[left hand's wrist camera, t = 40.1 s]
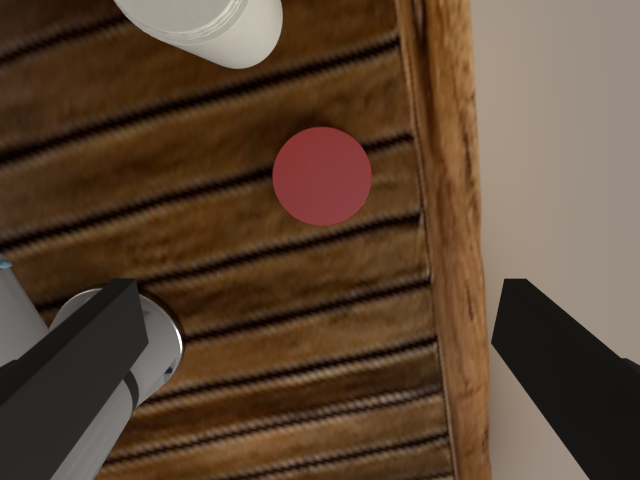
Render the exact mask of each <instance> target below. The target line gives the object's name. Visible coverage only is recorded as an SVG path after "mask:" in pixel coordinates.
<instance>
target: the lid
mask: <svg viewBox="0 0 640 480" xmlns="http://www.w3.org/2000/svg"><path fill="white" fill-rule="evenodd" d="M272 175H273V186H274V190H275V193H276V196H277V198H278V200H279V202H280V203H281V205H282V206H283V207H284V209H285V210H286V211H287V212H288V213H289V214H291V215H292V216H293V217H295V218H296V219H298V220H300V221H302V222H304V223H307V224H311V225H317V226H326V225H332V224H337V223H339V222H342V221H344V220H346V219H348V218H349V217H351V216H352V215H353V214H354V213H355V212H357V211H358V209H359V208H360V207H361V206H362V204H363V203H364V201H365V200H366V198H367V196H368V193H369V190H370V186H371V167H370V163H369V160H368V157H367V155H366V153H365V151H364V150H363V148H362V147H361V145H360V144H359V143H358V142H357V141H356V140H355V139H354V138H353V137H352V136H350V135H349V134H347V133H346V132H344V131H342V130H340V129H337V128H333V127H328V126H317V127H311V128H307V129H305V130H302V131H300V132H298V133H297V134H295V135H294V136H292V137H291V138H290V139H289V140H288V141H287V142H286V143H285V144H284V145H283V147H282V148H281V149H280V151H279V153H278V155H277V157H276V160H275V163H274V167H273V174H272Z"/></svg>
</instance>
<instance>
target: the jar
mask: <svg viewBox="0 0 640 480" xmlns="http://www.w3.org/2000/svg"><path fill="white" fill-rule="evenodd" d="M114 1H115V2H116V4H117V5H118V7H119V8H120V9H121V11H122V12H123V13H124V14H125V15H126V16H127V17H128V18H129V19H130V20H131V21H132V22H133V23H134V24H135V25H136V26H137V27H139V28H140V29H141V30H143V31H144V32H146V33H147V34H149V35H151V36H152V37H154V38H157V39H159V40H161V41H164V42H166V43H168V44H171V45H173V46H176V47H178V48H180V49H183V50H185V51H188V52H190V53H192V54H195V55H197V56H200V57H202V58H204V59H207V60H209V61H212V62H214V63H216V64H219V65H221V66H224V67H228V68H234V69H242V68H248V67H251V66H254V65H256V64H258V63H260V62H261V61H263V60H264V59H265V58H266V57H267V56H268V55H269V54H270V53H271V52H272V50H273V49H274V47H275V45H276V43H277V41H278V39H279V36H280V33H281V28H282V20H283V15H282V5H281V0H114Z"/></svg>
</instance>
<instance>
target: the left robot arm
mask: <svg viewBox="0 0 640 480" xmlns="http://www.w3.org/2000/svg"><path fill="white" fill-rule="evenodd" d="M10 267H12V265H11V263H10V261H7V260H4V258H3V257H2V256H1V254H0V480H94V478H95V476H96V475H97V473H98V471H99V469H100V468H101V466H102V464H103V463H104V461H105V459H106V458H107V456H108V454H109V452H110V451H111V449H112V447H113V446H114V444H115V442H116V441H117V439H118V437H119V435H120V434H121V432H122V430H123V429H124V427H125V425H126V424H127V422H128V420H129V418H130V417H131V415H132V413H133V412H134V410H135V409H136V407H137V406H138V405H139V404H141V403H142V402H143V401H144V400H145V399H147V398H148V397H149V396H150V395H151V394H153V393H154V392H155V391H156V390H157V389H159V388H160V387H161V386H162V385H163V384H165V383H166V382H167V381H168V380H169V379H170V377H171V376H172V375H173V374H174V373H175V371H176V369H177V368H178V366H179V364H180V362H181V360H182V358H183V356H184V352H185V335H184V331H183V328H182V325H181V323H180V321H179V320H178V318H177V316H176V315H175V314H174V312H173V311H172V310H171V309H170V308H169V307H168V306H167V305H166V304H165V303H164V302H163V301H162V300H160V299H159V298H158V297H156V296H155V295H153V294H151V293H149V292H147V291H145V290H143V289H140V288H138V287H137V283H136V279H113V280H112V281H111V282H110V283H104V284H98V285H94V286H91V287H88V288H86V289H84V290H82V291H81V292H79V293H78V294H76V295H75V296H74V297H73V298H71V299H70V300H69V301H68V302H66V303H65V304H64V306H63V307H62V308H61V309H60V311H59V312H58V313H57V315H56V317H55V319H54V321H53V322H52V324H51V326H50V328H49V329H48V327H47V326H46V324H45V323H44V321H43V320H42V318H41V316H40V315H39V313H38V312H37V310H36V308H35V307H34V305H33V304H32V302H31V301H30V299H29V297H28V296H27V294H26V293H25V291H24V289H23V288H22V286H21V285H20V283H19V282H18V280H17V278H16V277H15V275H14V274H13V272H12V270H11V269H10ZM491 344H492V345H493V346H494V348H495V349H496V351H497V352H498V353H499V355H500V356H501V358H502V359H503V360H504V362H505V363H506V364H507V366H508V367H509V369H510V370H511V371H512V373H513V374H514V376H515V377H516V378H517V380H518V381H519V382H520V384H521V385H522V387H523V388H524V389H525V391H526V392H527V394H528V395H529V396H530V398H531V399H532V400H533V402H534V403H535V405H536V406H537V407H538V409H539V410H540V411H541V413H542V414H543V416H544V417H545V418H546V420H547V421H548V423H549V424H550V425H551V427H552V428H553V429H554V431H555V432H556V434H557V435H558V436H559V438H560V439H561V441H562V442H563V443H564V445H565V446H566V447H567V449H568V450H569V451H570V453H571V454H572V456H573V457H574V459H575V460H576V461H577V463H578V464H579V465H580V467H581V468H582V470H583V471H584V472H585V474H586V475H587V477H588V478H589V479H590V480H640V365H638V364H636V363H634V362H633V361H631V360H629V359H627V358H620V357H619V356H618V355H616V354H615V353H614V352H613V351H612V350H611V349H609V348H608V347H607V346H606V345H605V344H603V343H602V342H601V341H600V340H599V339H597V338H596V337H595V336H594V335H593V334H591V333H590V332H589V331H588V330H587V329H585V328H584V327H583V326H582V325H581V324H579V323H578V322H577V321H576V320H575V319H573V318H572V317H571V316H570V315H569V314H568V313H566V312H565V311H564V310H563V309H561V308H560V307H559V306H558V305H557V304H556V303H554V302H553V301H552V300H551V299H550V298H548V297H547V296H546V295H545V294H544V293H542V292H541V291H540V290H539V289H538V288H536V287H535V286H534V285H533V284H532V283H530V282H529V281H528V280H527V279H504V283H503V288H502V293H501V298H500V302H499V307H498V312H497V317H496V322H495V326H494V331H493V336H492V341H491Z"/></svg>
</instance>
